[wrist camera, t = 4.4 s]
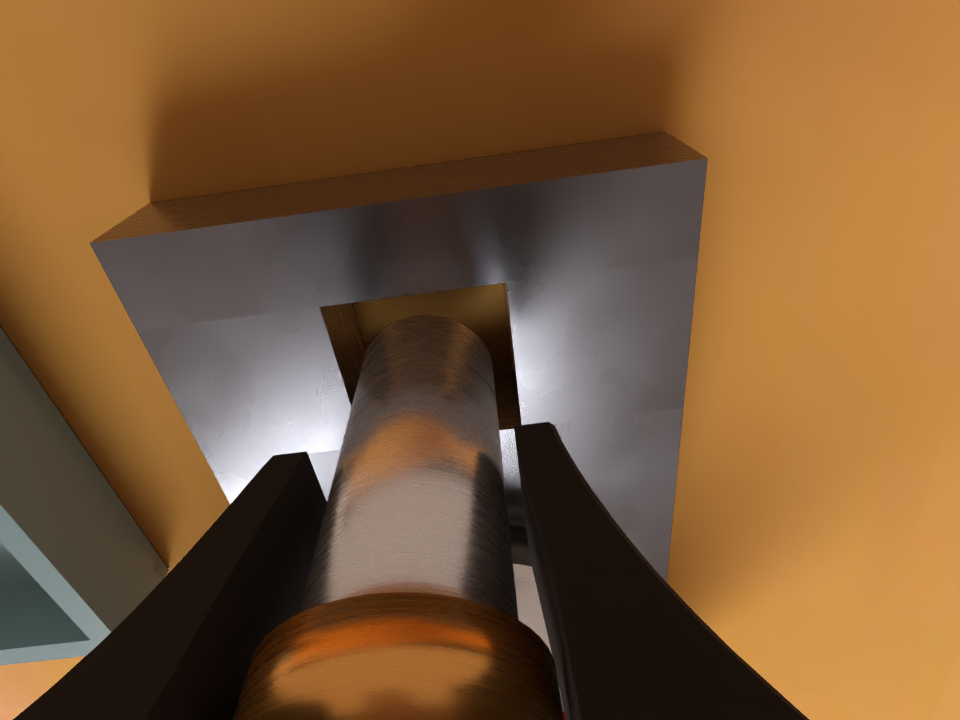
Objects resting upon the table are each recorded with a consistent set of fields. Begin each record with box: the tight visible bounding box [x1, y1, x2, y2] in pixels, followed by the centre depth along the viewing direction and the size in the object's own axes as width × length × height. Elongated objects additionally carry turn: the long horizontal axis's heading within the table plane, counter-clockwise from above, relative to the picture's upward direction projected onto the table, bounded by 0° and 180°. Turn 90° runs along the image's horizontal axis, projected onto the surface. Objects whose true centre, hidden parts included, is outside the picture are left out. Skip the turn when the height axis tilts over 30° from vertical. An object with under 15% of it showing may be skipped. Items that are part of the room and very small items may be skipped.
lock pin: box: [233, 316, 564, 720], centre depth 10 cm, size 4×4×8 cm
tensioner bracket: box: [90, 132, 707, 712], centre depth 15 cm, size 18×12×6 cm, turn 7°
